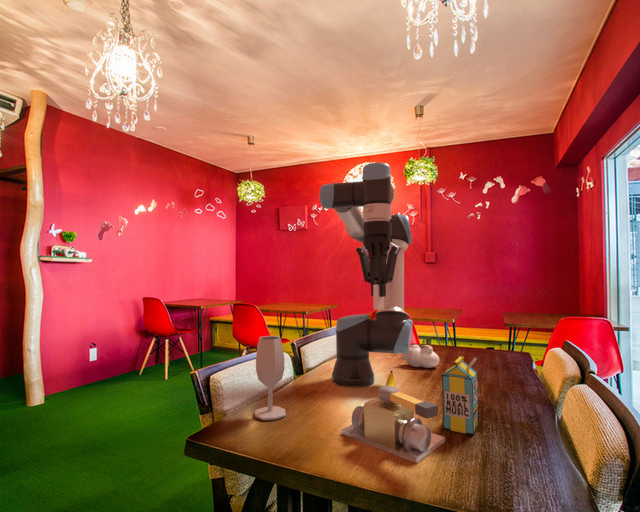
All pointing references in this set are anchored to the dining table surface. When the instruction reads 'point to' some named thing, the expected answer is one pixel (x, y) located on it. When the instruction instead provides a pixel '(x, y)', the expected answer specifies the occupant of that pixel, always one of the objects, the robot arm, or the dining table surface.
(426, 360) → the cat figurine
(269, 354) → the wineglass
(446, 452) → the dining table surface
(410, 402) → the lever
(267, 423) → the dining table surface
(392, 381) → the banana
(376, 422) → the valve body
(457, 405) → the carton
